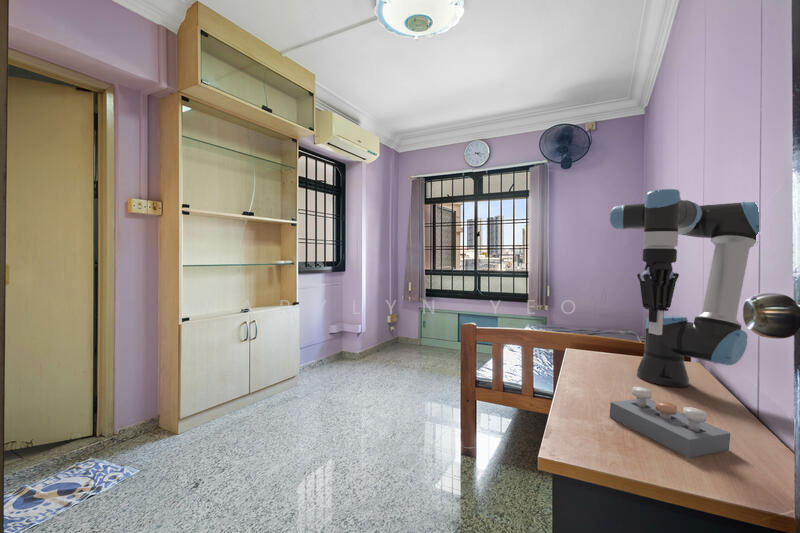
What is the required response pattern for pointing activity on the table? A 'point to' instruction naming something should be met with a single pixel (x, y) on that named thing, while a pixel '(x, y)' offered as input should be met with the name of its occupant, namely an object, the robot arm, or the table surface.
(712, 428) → the console
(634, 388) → the plunger
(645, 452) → the table surface
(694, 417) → the plunger
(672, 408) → the terracotta plunger
